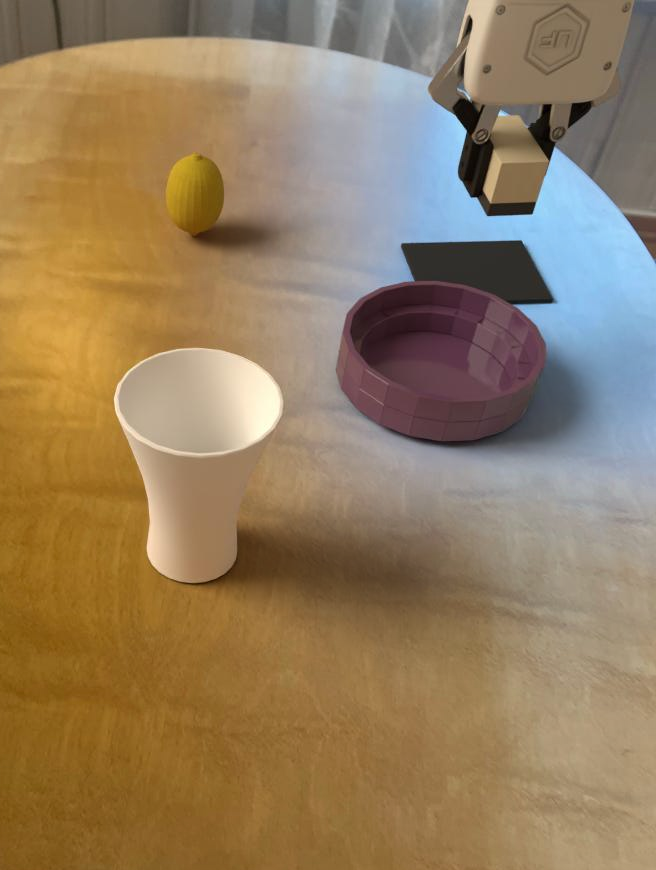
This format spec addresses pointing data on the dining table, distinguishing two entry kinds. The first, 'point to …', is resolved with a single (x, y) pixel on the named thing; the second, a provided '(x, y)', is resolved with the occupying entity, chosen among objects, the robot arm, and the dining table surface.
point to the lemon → (195, 194)
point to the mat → (480, 268)
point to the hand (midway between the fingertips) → (497, 185)
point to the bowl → (439, 360)
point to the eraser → (513, 170)
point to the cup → (196, 451)
